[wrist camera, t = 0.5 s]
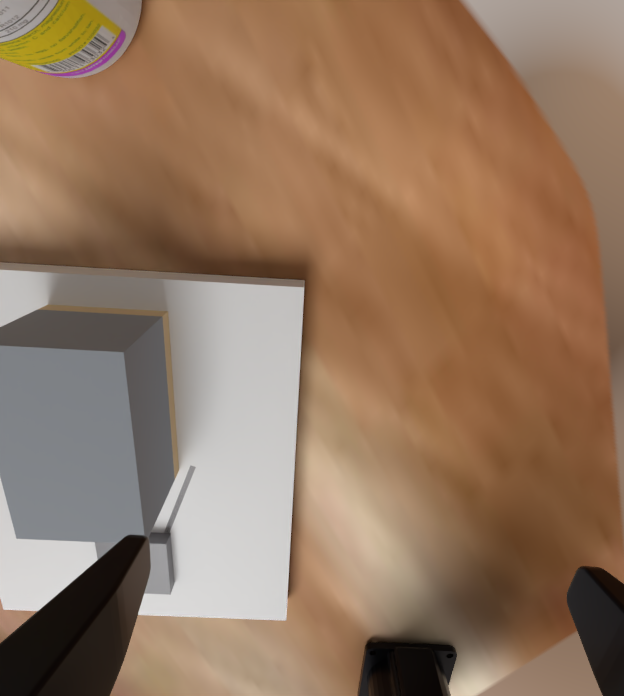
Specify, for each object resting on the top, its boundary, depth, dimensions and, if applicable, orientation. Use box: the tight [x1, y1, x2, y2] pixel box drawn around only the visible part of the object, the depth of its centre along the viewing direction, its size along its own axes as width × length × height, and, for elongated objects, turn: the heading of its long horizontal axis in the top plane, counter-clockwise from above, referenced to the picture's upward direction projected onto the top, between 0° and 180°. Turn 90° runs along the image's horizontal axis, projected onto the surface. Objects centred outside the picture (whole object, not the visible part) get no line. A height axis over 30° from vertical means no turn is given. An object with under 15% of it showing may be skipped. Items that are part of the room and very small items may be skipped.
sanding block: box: [0, 305, 179, 543], centre depth 19 cm, size 9×6×5 cm, turn 177°
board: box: [0, 262, 305, 621], centre depth 24 cm, size 22×18×2 cm
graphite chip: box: [95, 532, 175, 595], centre depth 25 cm, size 4×4×1 cm
